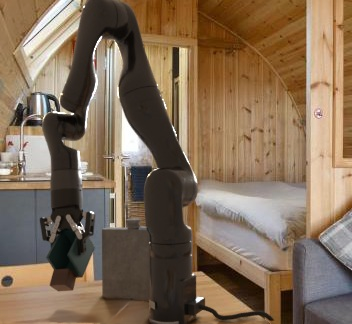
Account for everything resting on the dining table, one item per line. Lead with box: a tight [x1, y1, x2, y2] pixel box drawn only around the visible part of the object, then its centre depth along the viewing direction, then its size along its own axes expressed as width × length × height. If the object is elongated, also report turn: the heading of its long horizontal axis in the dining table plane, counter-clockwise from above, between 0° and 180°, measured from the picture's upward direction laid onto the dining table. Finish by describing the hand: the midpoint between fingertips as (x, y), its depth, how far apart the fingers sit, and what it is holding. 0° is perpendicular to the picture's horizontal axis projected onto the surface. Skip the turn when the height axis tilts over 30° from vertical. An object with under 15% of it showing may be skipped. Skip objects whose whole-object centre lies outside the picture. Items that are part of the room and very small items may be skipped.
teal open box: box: [45, 225, 96, 279], centre depth 116 cm, size 10×6×8 cm
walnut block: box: [49, 269, 77, 292], centre depth 111 cm, size 4×4×4 cm
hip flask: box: [101, 217, 150, 302], centre depth 116 cm, size 16×4×20 cm, turn 81°
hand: (68, 256), depth 114 cm, fingers closed on teal open box, 6 cm apart
